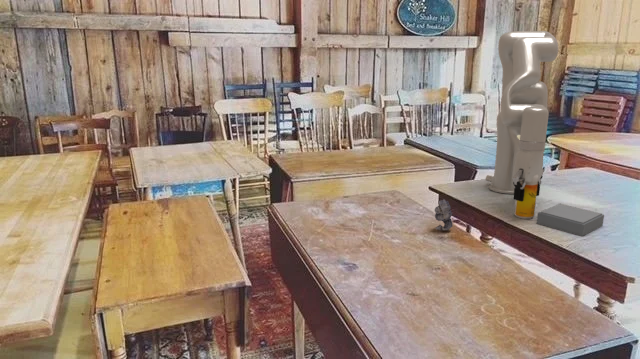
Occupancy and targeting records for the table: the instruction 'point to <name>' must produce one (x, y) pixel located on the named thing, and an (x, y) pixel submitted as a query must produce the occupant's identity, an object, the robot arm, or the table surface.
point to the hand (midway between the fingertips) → (526, 197)
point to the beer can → (527, 200)
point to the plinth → (570, 219)
